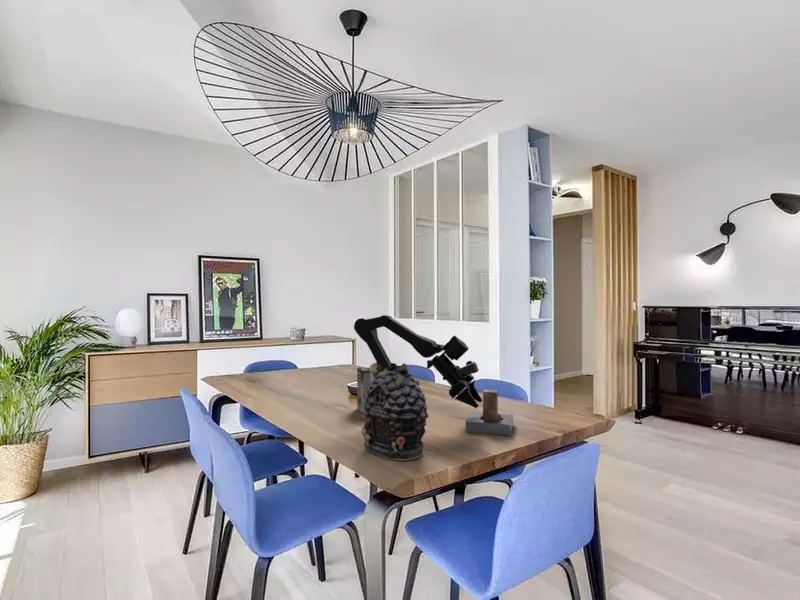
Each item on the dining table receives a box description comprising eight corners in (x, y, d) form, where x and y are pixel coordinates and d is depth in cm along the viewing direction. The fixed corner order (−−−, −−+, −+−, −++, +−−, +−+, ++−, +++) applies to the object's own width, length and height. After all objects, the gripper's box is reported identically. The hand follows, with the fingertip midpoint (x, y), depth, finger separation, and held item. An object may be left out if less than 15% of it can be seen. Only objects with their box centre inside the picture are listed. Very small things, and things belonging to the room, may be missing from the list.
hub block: (465, 432, 145) (465, 421, 145) (472, 421, 158) (472, 411, 158) (510, 436, 140) (510, 425, 140) (513, 425, 154) (513, 414, 154)
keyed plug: (482, 429, 148) (483, 391, 148) (484, 426, 152) (484, 389, 152) (500, 431, 146) (500, 392, 146) (501, 427, 150) (501, 390, 150)
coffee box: (356, 408, 178) (356, 367, 178) (372, 407, 180) (372, 367, 180) (361, 413, 169) (361, 370, 169) (378, 412, 171) (378, 370, 171)
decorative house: (348, 450, 126) (349, 361, 126) (385, 438, 137) (385, 357, 138) (404, 468, 112) (405, 368, 112) (440, 453, 123) (440, 362, 124)
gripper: (459, 356, 143) (494, 393, 140) (468, 351, 161) (499, 384, 158) (435, 379, 146) (468, 416, 142) (446, 371, 163) (476, 404, 160)
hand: (479, 404), depth 150 cm, fingers open, 9 cm apart
